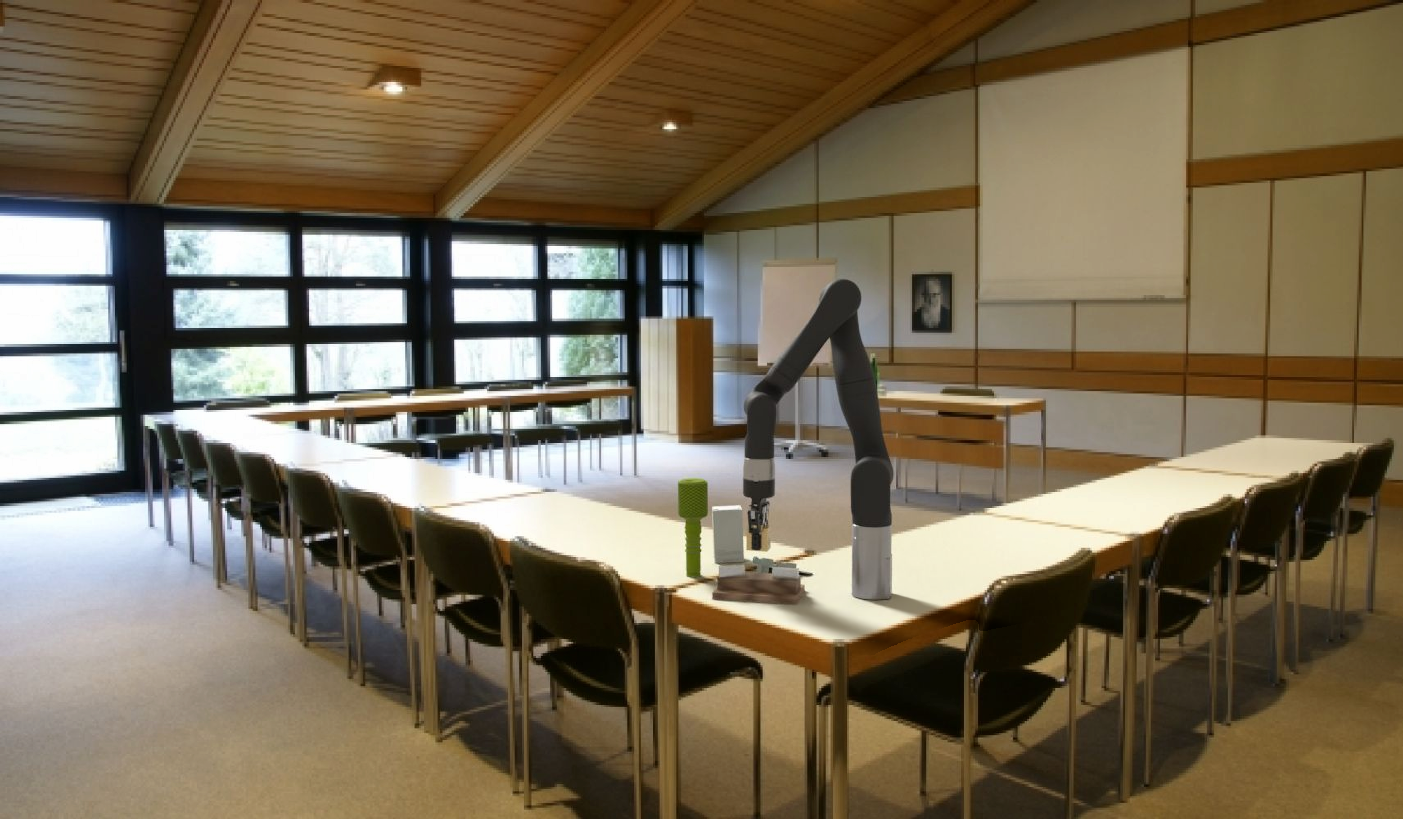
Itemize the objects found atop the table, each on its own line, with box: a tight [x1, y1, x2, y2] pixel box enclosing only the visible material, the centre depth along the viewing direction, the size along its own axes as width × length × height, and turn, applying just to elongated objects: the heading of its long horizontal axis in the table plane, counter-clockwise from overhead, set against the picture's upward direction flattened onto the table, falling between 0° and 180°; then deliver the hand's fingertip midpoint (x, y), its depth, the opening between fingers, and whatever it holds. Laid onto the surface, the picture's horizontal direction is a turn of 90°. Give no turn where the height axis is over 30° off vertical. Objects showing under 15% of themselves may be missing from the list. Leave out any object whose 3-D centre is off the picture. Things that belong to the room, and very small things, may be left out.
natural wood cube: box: [745, 524, 772, 553], centre depth 241 cm, size 5×4×6 cm
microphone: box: [677, 477, 709, 578], centre depth 259 cm, size 8×8×25 cm
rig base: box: [711, 571, 806, 605], centre depth 241 cm, size 20×12×4 cm, turn 75°
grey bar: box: [718, 564, 800, 580], centre depth 240 cm, size 19×4×2 cm, turn 75°
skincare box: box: [711, 504, 745, 564], centre depth 275 cm, size 8×6×15 cm
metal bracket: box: [745, 556, 813, 575], centre depth 261 cm, size 14×6×15 cm
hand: (758, 547), depth 241 cm, fingers closed on natural wood cube, 4 cm apart
